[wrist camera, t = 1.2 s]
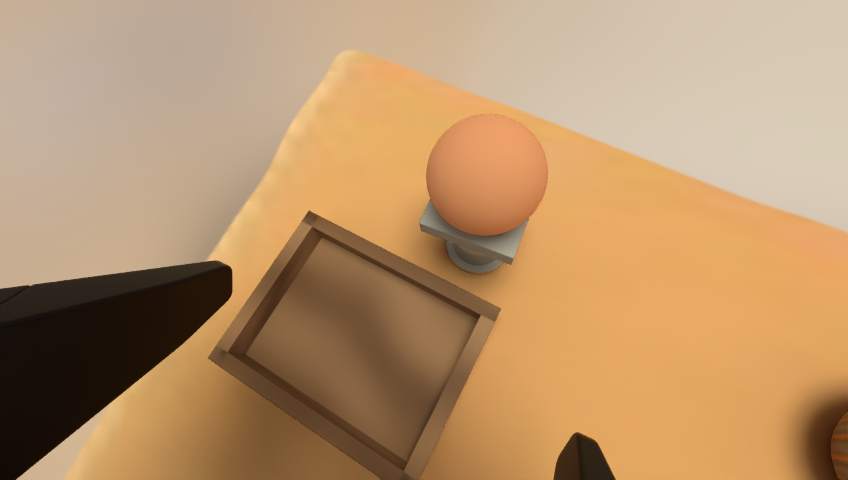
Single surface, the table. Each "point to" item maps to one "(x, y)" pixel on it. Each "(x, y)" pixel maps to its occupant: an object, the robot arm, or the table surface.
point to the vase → (840, 448)
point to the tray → (358, 346)
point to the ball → (487, 174)
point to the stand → (473, 243)
